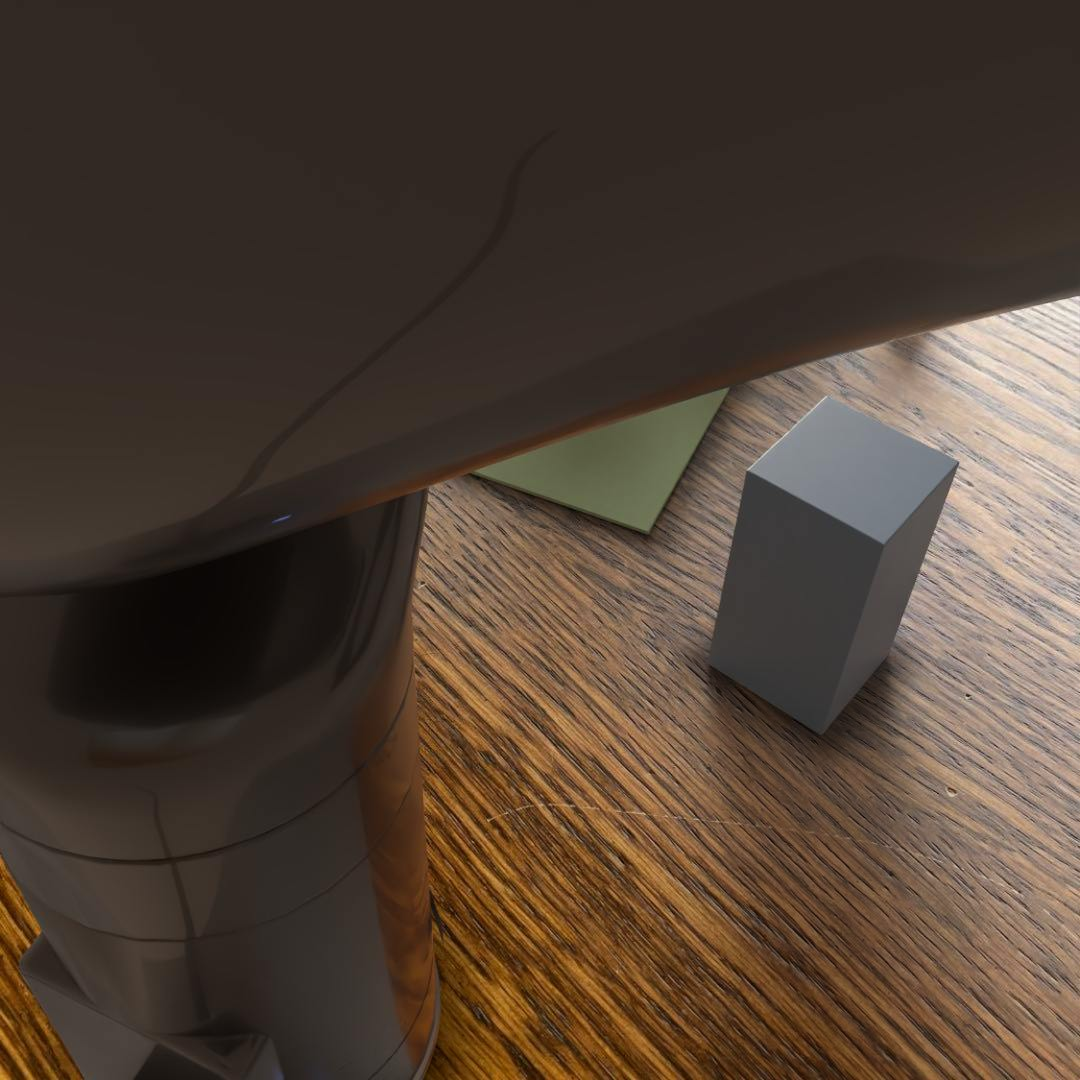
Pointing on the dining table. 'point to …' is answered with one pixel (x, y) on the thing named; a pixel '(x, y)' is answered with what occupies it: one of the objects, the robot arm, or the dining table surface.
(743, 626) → the slate block
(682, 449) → the mat
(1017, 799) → the dining table surface
